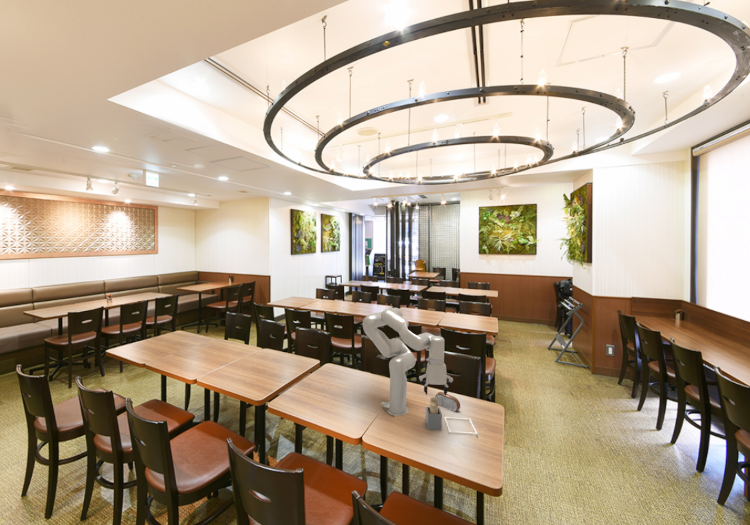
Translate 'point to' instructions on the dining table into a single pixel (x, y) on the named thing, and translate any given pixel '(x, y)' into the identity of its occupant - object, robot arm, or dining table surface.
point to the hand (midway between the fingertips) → (435, 393)
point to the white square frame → (461, 432)
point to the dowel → (433, 406)
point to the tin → (448, 401)
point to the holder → (433, 420)
